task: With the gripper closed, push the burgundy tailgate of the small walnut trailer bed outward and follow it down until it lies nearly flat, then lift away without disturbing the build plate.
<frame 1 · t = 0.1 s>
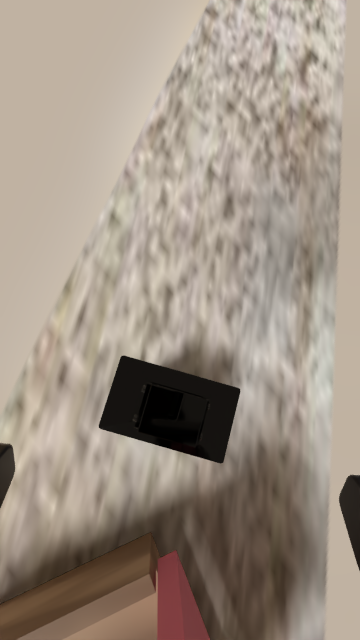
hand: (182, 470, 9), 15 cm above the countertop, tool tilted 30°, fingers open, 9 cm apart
build plate: (170, 406, 24), on the countertop
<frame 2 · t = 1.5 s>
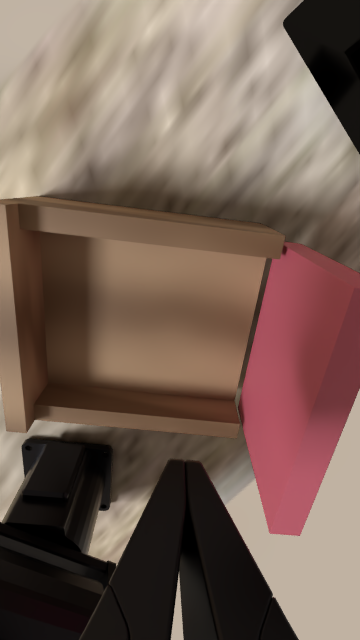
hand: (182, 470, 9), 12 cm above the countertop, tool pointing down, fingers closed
tailgate: (295, 373, 14), point 6 cm above the countertop, hinge at 0.0°
trailer bed: (144, 305, 19), on the countertop
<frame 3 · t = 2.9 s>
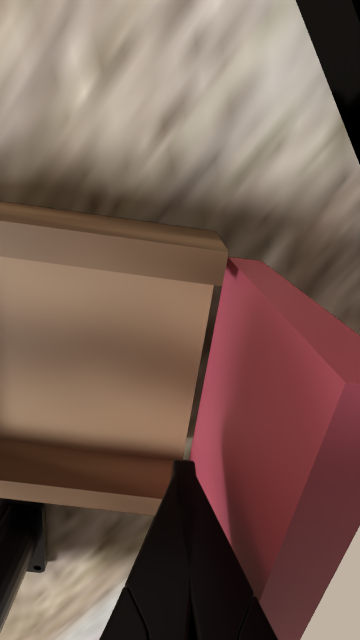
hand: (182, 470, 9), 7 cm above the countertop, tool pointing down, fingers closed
tailgate: (253, 453, 10), point 6 cm above the countertop, hinge at 5.1°, touching gripper
trailer bed: (69, 333, 15), on the countertop
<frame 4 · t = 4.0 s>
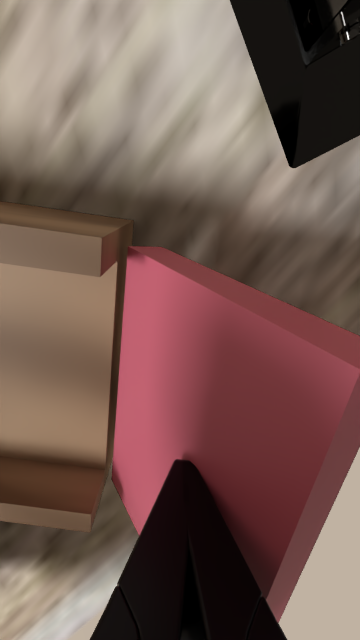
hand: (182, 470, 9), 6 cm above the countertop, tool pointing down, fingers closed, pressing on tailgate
tailgate: (199, 442, 10), point 5 cm above the countertop, hinge at 35.2°, touching gripper
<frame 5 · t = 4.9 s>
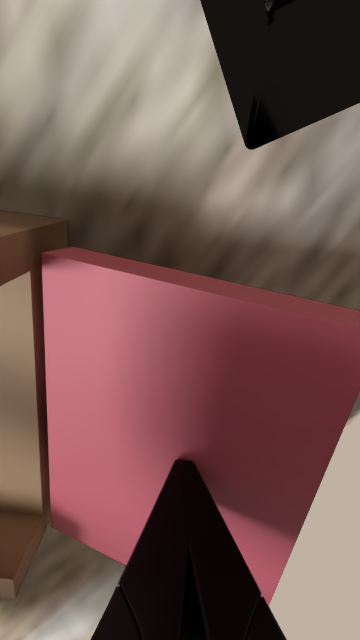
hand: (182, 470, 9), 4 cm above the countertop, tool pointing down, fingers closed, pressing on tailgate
tailgate: (173, 439, 9), point 3 cm above the countertop, hinge at 72.1°, touching gripper
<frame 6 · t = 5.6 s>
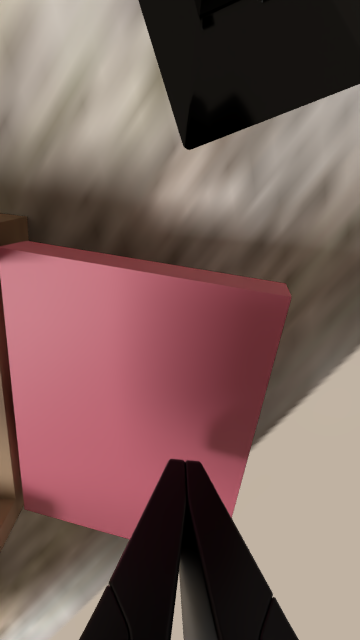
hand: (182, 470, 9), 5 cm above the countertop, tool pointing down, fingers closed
tailgate: (135, 409, 11), point 2 cm above the countertop, hinge at 79.3°
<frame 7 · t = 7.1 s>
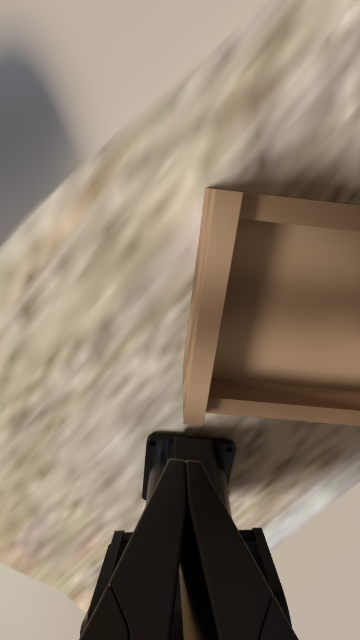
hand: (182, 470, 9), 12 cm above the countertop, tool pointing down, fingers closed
trailer bed: (291, 297, 19), on the countertop
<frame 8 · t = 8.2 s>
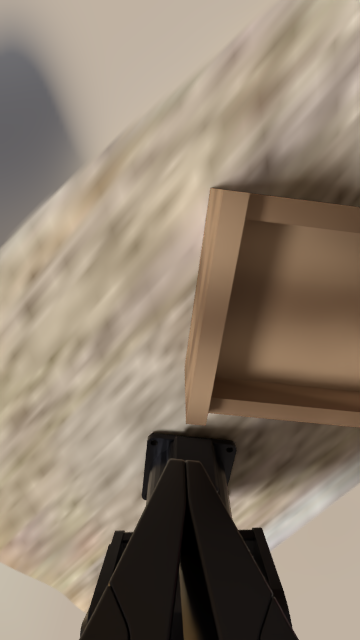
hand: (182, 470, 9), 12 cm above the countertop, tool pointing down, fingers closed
trailer bed: (294, 298, 19), on the countertop
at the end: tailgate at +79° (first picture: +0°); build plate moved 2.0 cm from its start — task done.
